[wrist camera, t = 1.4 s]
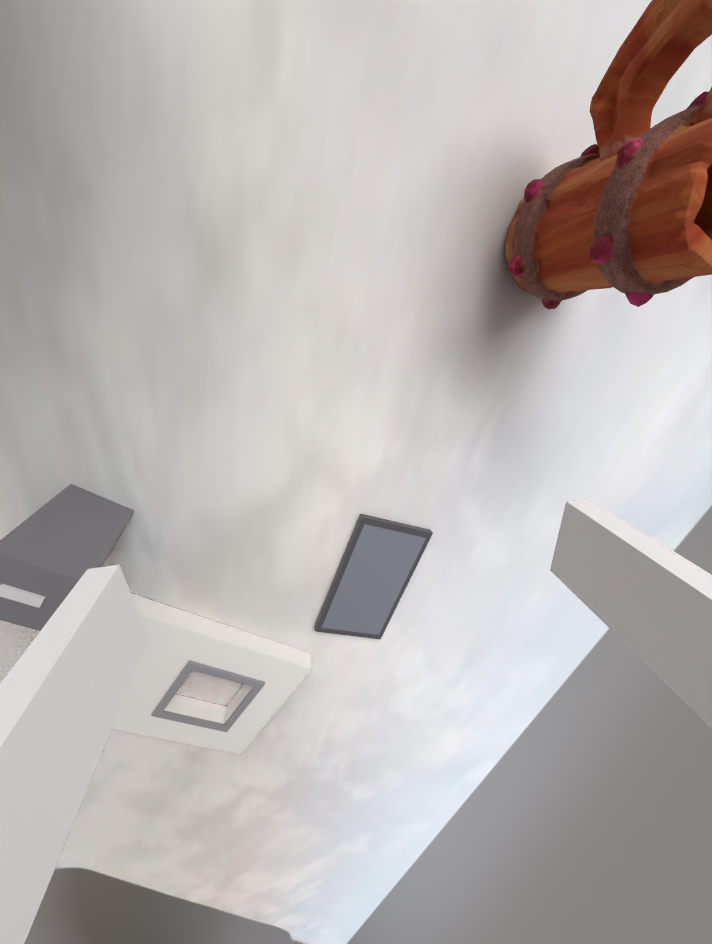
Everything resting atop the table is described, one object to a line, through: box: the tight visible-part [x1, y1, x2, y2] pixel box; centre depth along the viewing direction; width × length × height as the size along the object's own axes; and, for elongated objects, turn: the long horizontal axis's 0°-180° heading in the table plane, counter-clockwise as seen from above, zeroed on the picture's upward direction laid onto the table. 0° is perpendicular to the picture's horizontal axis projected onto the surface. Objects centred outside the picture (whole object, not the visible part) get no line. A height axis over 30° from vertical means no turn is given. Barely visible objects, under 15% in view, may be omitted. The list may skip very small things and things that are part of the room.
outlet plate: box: [113, 593, 312, 754], centre depth 38 cm, size 24×16×2 cm, turn 54°
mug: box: [505, 0, 712, 309], centre depth 20 cm, size 15×8×15 cm, turn 178°
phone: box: [315, 514, 433, 639], centre depth 39 cm, size 8×15×1 cm, turn 160°
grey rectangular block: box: [0, 484, 134, 631], centre depth 26 cm, size 5×5×9 cm
